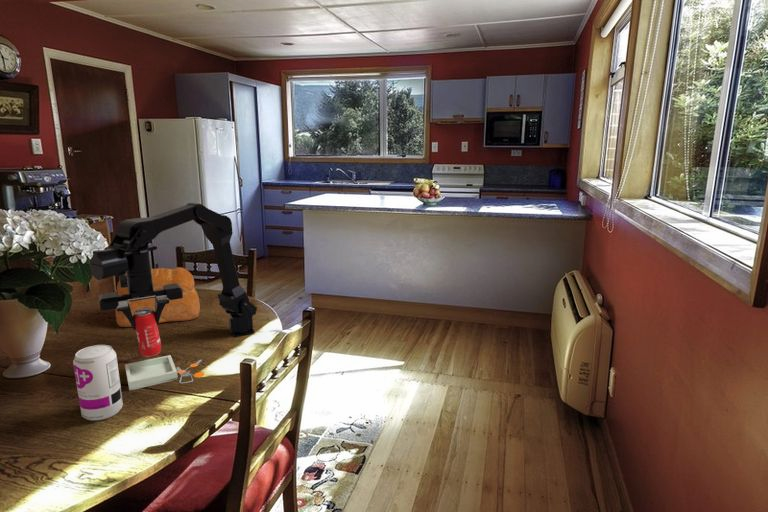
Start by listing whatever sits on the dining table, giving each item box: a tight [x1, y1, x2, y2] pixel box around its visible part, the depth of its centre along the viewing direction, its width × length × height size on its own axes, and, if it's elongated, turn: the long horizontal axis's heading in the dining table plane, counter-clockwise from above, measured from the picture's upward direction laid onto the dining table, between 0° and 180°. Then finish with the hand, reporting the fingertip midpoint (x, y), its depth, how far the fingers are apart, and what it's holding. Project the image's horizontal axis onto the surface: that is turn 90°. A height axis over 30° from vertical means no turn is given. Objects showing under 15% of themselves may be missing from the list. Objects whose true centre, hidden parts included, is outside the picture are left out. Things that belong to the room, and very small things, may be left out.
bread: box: [115, 266, 201, 328], centre depth 163 cm, size 16×26×17 cm, turn 112°
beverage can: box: [133, 308, 162, 358], centre depth 124 cm, size 5×5×12 cm
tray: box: [124, 354, 179, 391], centre depth 125 cm, size 11×11×2 cm
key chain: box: [175, 359, 205, 385], centre depth 127 cm, size 13×7×1 cm, turn 23°
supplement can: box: [72, 344, 124, 422], centre depth 106 cm, size 8×8×15 cm
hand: (145, 327), depth 124 cm, fingers closed on beverage can, 5 cm apart
